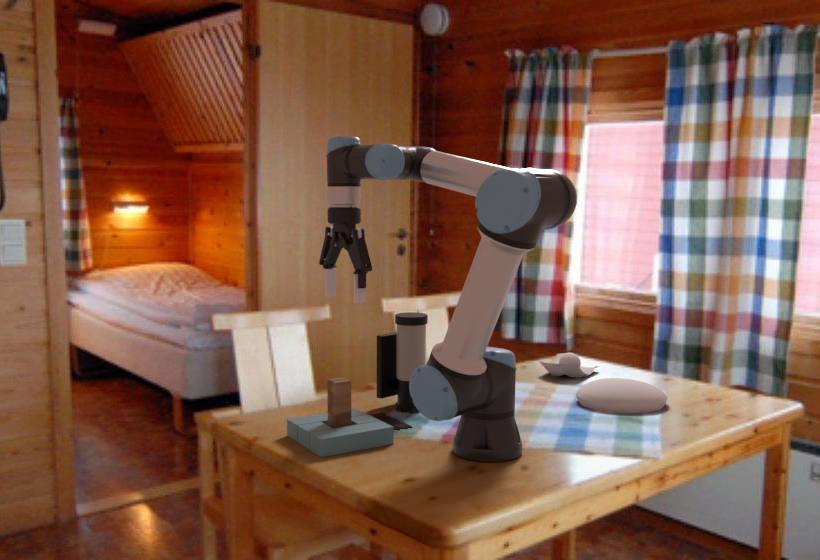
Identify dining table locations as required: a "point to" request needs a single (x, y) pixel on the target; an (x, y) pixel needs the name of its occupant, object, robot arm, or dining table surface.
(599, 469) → the dining table surface
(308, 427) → the socket block
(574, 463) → the dining table surface
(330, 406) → the walnut peg
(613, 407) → the decorative item
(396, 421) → the smartphone
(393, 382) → the light fixture
